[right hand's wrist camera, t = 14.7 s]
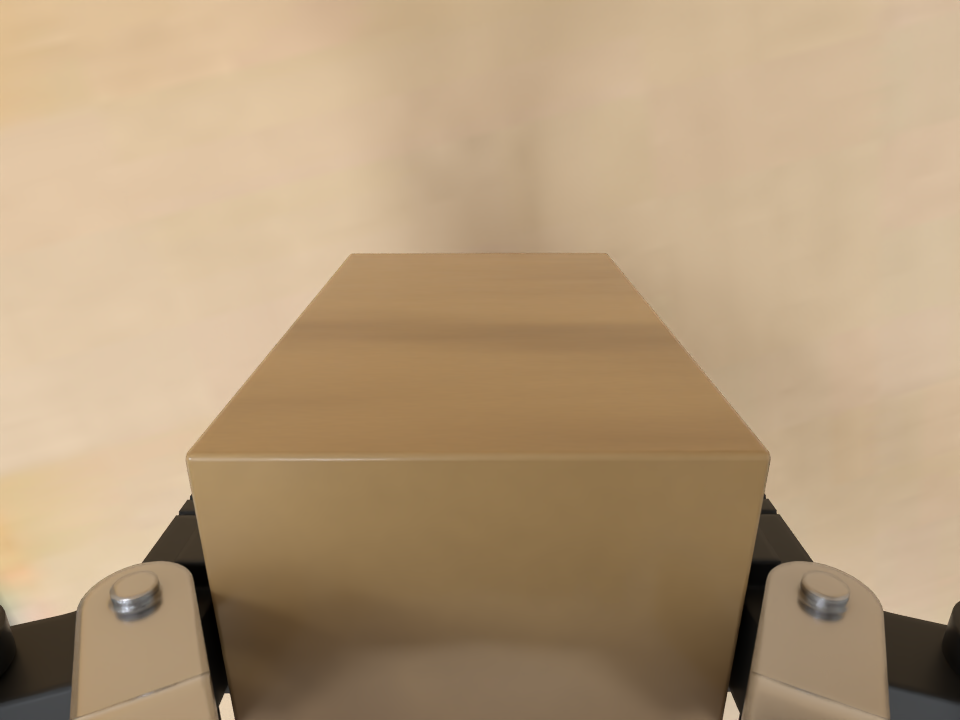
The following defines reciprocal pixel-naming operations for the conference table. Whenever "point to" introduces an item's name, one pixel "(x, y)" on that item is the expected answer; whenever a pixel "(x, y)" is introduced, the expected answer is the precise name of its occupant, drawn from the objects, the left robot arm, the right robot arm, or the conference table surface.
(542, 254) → the box
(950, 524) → the conference table surface
